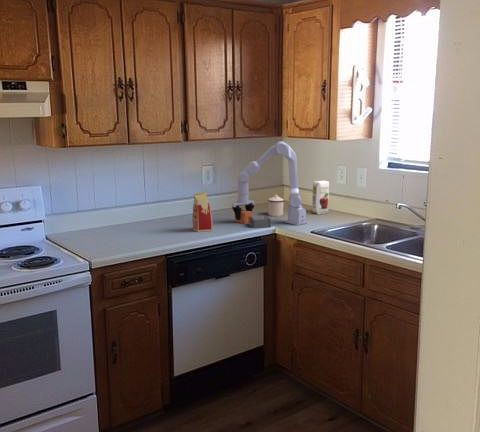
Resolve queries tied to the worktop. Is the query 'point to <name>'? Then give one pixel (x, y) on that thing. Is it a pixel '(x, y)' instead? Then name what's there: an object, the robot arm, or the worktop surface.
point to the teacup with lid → (275, 206)
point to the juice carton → (320, 197)
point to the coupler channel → (259, 222)
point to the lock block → (244, 216)
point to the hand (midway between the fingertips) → (243, 218)
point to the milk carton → (201, 213)
